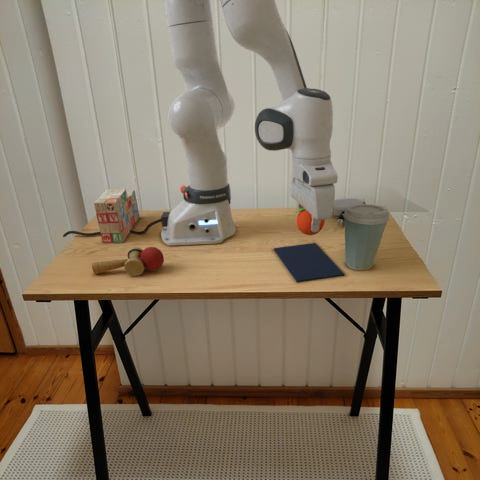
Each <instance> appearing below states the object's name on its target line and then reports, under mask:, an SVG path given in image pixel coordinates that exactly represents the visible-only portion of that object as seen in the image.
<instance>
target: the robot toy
mask: <svg viewBox="0 0 480 480" xmlns="http://www.w3.org/2000/svg"><path fill="white" fill-rule="evenodd" d="M358 204H367V203H366V201H365V198H362V199H359V198H350V197H349V198H347V197H346V198H345V197H344V198H337V199H334V208H333V214H332V215H334V216H337V217H338V218H337V223H338V224H339V223H340V224H344V223H345V222H344V217H343V216H344V213H345V210H346V209H347V208H348V207H349V206H352V205H358Z"/></svg>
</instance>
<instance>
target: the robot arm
mask: <svg viewBox="0 0 480 480" xmlns="http://www.w3.org/2000/svg"><path fill="white" fill-rule="evenodd" d="M220 4H221V9H222V12H223V16H224V20H225V23H226V27H227V29H228V31H229V33H230V35H231V37H232V40H234V41H235V43H236V44H237V45H240V47H242V48H244V49H245V50H248V51H250V52H252V53H254V54H256V55H258V56H259V57H261V58H262V59H263V60H264V61H265V62H267V64H268V65H269V66H270V68H271V70H272V73H273V75H274V78H275V82H276V84H277V87H278V91H279V92H280V93H279V94H280V95H281V99H282V101H281V102H279V103H276V104H273V105H270V106H267V107H265V108H263V109H262V110H261V111H259V113H258V114H257V116H256V118H255V122H254V134H255V138H256V140H257V142H258V143H259V145H260V146H261V147H262V148H263V149H265V150H267V151H273V152H275V151H281V150H290V151H291V172H290V183H289V185H290V186H289V193H290V197H291V198H293V199H294V201H296V203H297V204H296V205H297V211H298V210H299V209H301V208H305V209H306V210H307V211H308V212H309V213H310V214H311V215H312V223H310V230H311V231H312V232H318V231H319V224H320V222H321V220H323V219H325V220H330V219H331V217H332V216H333V215H334V214H333V208H334V200H335V199H336V198H335V197H336V188H335V184H337V183H338V178H339V177H338V176H339V175H338V173H337V171H336V170H335V167H334V166H333V162H332V150H331V149H332V148H331V139H332V136H333V130H334V129H333V128H334V127H333V125H334V112H333V111H334V109H333V103H332V98H331V96H330V94H329V93H328V92H326V91H325V90H321V89H318V88H309V87H307V84H306V80H305V77H304V74H303V71H302V67H301V65H300V61H299V58H298V56H297V52H296V49H295V46H294V43H293V40H292V38H291V36H290V34H289V31H288V30H287V28H286V27H285V25H284V22H283V20H282V18H281V15H280V11H279V9H278V6H277V3H276V0H220ZM164 10H165V20H166V26H167V32H168V38H169V43H170V50H171V55H172V61H173V64H174V66H175V68H176V69H177V70H178V72H179V73H180V75H181V77H182V79H183V81H184V85H185V87H186V91H184V92H182V93H180V95H178V96H177V97H176V98H175V99H174V100H173V101H172V102H171V103H170V105H169V107H168V111H167V120H168V123H169V126H170V129H171V130H172V131H173V132H174V134H175V135H177V137H178V138H179V140H180V143H181V146H182V149H183V151H184V156H185V159H186V167H187V172H188V173H187V175H188V181H189V182H188V186H186V185H184V184H182V185H180V188H179V190H180V192H181V194H182V197H183V200H182V201H181V202H179V204H177V206H175V207H174V208H173V209H172V210H170V211H163V212H162V214H161V216H160V218H159V219H157V220H154V221H152V222H151V223H149V224H148V225H146V227H145V228H144V230H141V231H136V230H132V229H131V230H130V233H129V234H134V235H144V234H146V233H147V232H148V231H149V229H150V228H151V227H152V226H154V225H156V224H159V223H161V227H162V229H161V231H160V238H161V241H162V243H164V244H165V245H167V246H169V247H171V246H189V245H190V246H195V245H214V244H221V243H222V242H224V241H225V240H226V239H228V238H230V237H232V236H233V235H235V234H236V232H237V228H236V225H235V223H234V219H233V214H232V209H231V200H232V194H231V186H230V183H229V173H228V158H227V154H226V152H225V151H224V150H223V148H222V146H221V142H220V138H219V131H218V130H219V129H221V128H222V129H223V127H225V126H226V125H227V124H228V123H229V121H230V120H231V119H232V117H233V115H234V114H235V108H236V105H235V100H234V97H233V95H232V93H231V92H230V91H229V90H228V87H227V84H226V81H225V77H224V75H223V71H222V68H221V65H220V61H219V60H220V59H219V56H218V50H217V43H216V37H215V36H216V34H215V28H214V21H213V20H214V18H213V13H212V12H213V11H212V7H211V0H164ZM299 212H300V211H299ZM299 212H298V213H299ZM318 233H319V232H318ZM70 234H72V235H73V234H75V235H79V236H85V237H91V236H93V237H94V236H99V235H101V232H100V231H96V232H82V231H77V230H68V231H67V232H65V233H64V234H63V235H62V238H65V237H67V236H68V235H70Z"/></svg>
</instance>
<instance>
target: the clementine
mask: <svg viewBox="0 0 480 480" xmlns="http://www.w3.org/2000/svg"><path fill="white" fill-rule="evenodd" d="M299 211H300V212H299ZM296 214H297V216H296V220H295V221H296V227H297V229H298V230H299V231H300V232H301V233H302V234H303V235H306V236H313V235H317V234H318V233H320V231H322V230H323V228H324V226H325V222H326V219H323V220H321V222H320V224H319V231H318V232H312V231H311V230H310V223H312V215H311V214H310V213H309V212H308V211H307V210H306V209H305V208H301V209H299V210H298V209H297V210H296V211H295V212H294V213H293V215H292V217H294V216H295V215H296Z"/></svg>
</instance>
